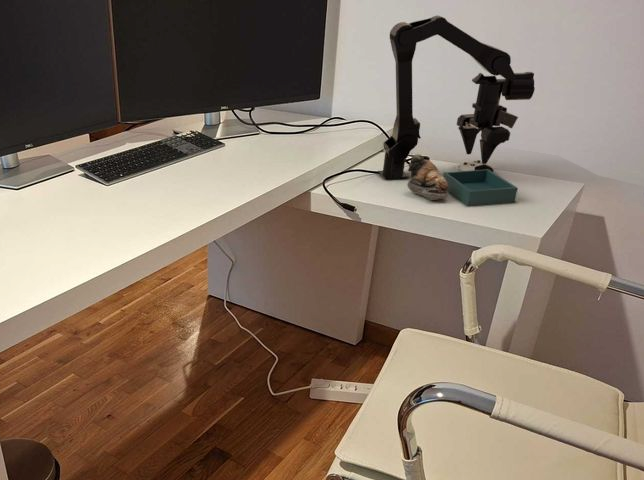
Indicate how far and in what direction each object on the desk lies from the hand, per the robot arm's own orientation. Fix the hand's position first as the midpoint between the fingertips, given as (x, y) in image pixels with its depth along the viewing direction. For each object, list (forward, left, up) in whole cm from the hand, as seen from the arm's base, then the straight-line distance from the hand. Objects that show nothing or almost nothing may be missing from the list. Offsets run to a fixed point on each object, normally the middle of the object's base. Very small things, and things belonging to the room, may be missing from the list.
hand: (476, 158), depth 185 cm
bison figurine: (+14, -20, -5) cm, 25 cm away
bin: (+15, -6, -4) cm, 17 cm away
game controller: (0, 0, -5) cm, 5 cm away
